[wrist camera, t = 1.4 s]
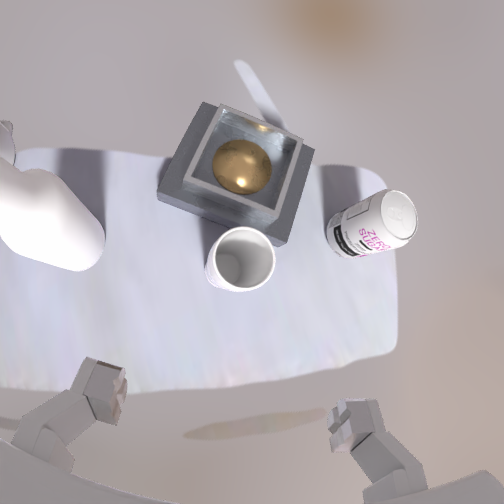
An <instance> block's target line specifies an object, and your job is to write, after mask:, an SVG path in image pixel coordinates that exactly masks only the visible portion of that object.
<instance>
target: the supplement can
mask: <svg viewBox="0 0 504 504" xmlns="http://www.w3.org/2000/svg"><path fill="white" fill-rule="evenodd" d="M417 226H418V215H417V212H416V208H415V206H414V205H413V203H412V201H411V200H410V198H409V197H407V195H406V194H404V193H402V192H400V191H396V190H387V189H384V190H382V191H380V192H377V193H375V194H374V195H372V196H370V197H368V198H366V199H364V200H362V201H360V202H358V203H356V204H354V205H353V206H351V207H349V208H347V209H345V210H343V211H341V212H339V213H337V214H335V215H334V216H333V217H332V218H331V219H330V221H329V223H328V226H327V239H328V243H329V245H330V247H331V248H332V250H333V251H334V252H335V253H336V254H337V255H339V256H340V257H343V258H346V259H352V258H357V257H361V256H365V255H369V254H373V253H378V252H382V251H386V250H390V249H394V248H397V247H402V246H403V245H405V244H406V243H407V242H409V240H410V239H411V238H412V237H413V236H414V234H415V233H416V231H417Z"/></svg>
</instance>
